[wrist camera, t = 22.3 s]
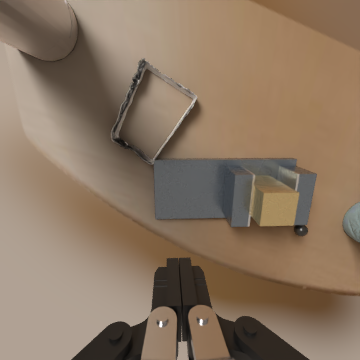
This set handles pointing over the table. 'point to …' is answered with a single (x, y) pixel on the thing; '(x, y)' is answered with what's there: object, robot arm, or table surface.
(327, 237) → the table surface
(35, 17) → the robot arm
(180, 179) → the vise base
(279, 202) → the brass block
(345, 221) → the blue embossed cup
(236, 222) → the sliding jaw
